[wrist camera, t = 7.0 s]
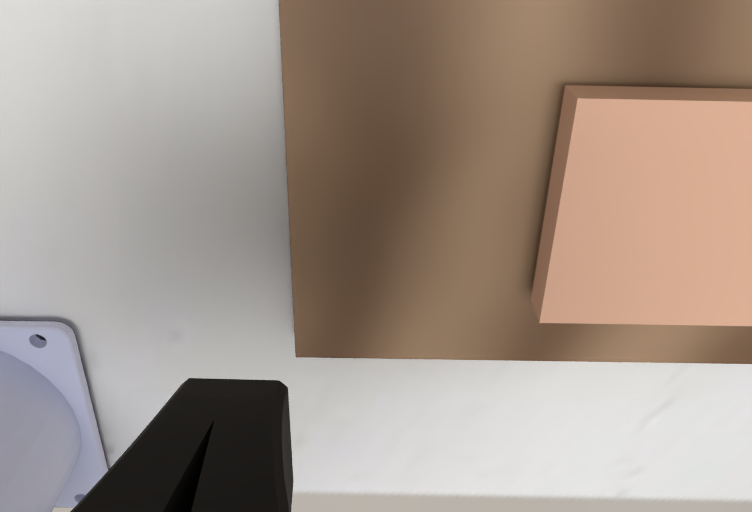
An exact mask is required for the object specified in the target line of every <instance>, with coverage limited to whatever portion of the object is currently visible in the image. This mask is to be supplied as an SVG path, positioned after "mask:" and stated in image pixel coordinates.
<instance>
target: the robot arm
mask: <svg viewBox="0 0 752 512" xmlns="http://www.w3.org/2000/svg"><path fill="white" fill-rule="evenodd" d="M35 334H38V335H41V336H43V337H44V338H45V339H46V341H45V340H41V339H39V338H38V337H37V336H36V335H35ZM292 491H293V468H292V451H291V434H290V418H289V401H288V388H287V387H286V386H285V385H284V384H283V383H282V382H280V381H276V380H238V379H199V378H189V379H188V380H187V381H185V382H184V383H183V384H182V385H181V386H180V387H179V389H178V390H177V391H176V392H175V393H174V395H173V396H172V397H171V398H170V399H169V401H168V402H167V403H166V404H165V405H164V407H163V408H162V409H161V410H160V411H159V413H158V414H157V415H156V416H155V417H154V419H153V420H152V421H151V422H150V423H149V425H148V426H147V427H146V428H145V429H144V430H143V432H142V433H141V434H140V435H139V436H138V437H137V439H136V440H135V441H134V442H133V443H132V444H131V445H130V447H129V448H128V449H127V450H126V451H125V452H124V454H123V455H122V456H121V457H120V458H119V459H118V460H117V461H116V463H115V464H114V465H113V466H112V467H111V468H110V469H109V470H108V468H107V464H106V460H105V456H104V452H103V448H102V444H101V439H100V435H99V431H98V427H97V423H96V419H95V415H94V411H93V407H92V403H91V399H90V395H89V390H88V386H87V382H86V378H85V374H84V370H83V366H82V362H81V358H80V354H79V350H78V346H77V341H76V337H75V334H74V332H73V330H72V329H71V328H70V327H69V326H68V325H66V324H64V323H61V322H49V321H0V512H52V510H53V508H54V507H74V509H73V510H72V511H71V512H291V503H292ZM84 494H85V495H84Z"/></svg>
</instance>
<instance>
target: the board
mask: <svg viewBox="0 0 752 512" xmlns="http://www.w3.org/2000/svg"><path fill="white" fill-rule="evenodd" d="M279 16H280V37H281V58H282V79H283V100H284V121H285V142H286V164H287V185H288V206H289V227H290V248H291V269H292V290H293V311H294V332H295V353H296V357H318V358H386V359H453V360H520V361H588V362H655V363H723V364H752V326H706V325H642V324H577V323H539V321H538V318H537V315H536V313H535V310H534V307H533V305H532V302H531V296H532V290H533V283H534V277H535V271H536V265H537V258H538V252H539V246H540V240H541V233H542V227H543V221H544V214H545V208H546V202H547V196H548V189H549V183H550V177H551V171H552V164H553V158H554V152H555V146H556V139H557V133H558V127H559V121H560V114H561V108H562V102H563V96H564V89H565V85H580V86H630V87H680V88H729V89H752V0H279Z"/></svg>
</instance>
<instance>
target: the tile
mask: <svg viewBox="0 0 752 512" xmlns="http://www.w3.org/2000/svg"><path fill="white" fill-rule="evenodd" d="M531 302H532V305H533V307H534V310H535V313H536V315H537V318H538V321H539V323H577V324H642V325H706V326H752V89H729V88H680V87H630V86H580V85H565V89H564V96H563V102H562V108H561V114H560V121H559V127H558V133H557V139H556V146H555V152H554V158H553V164H552V171H551V177H550V183H549V189H548V196H547V202H546V208H545V214H544V221H543V227H542V233H541V240H540V246H539V252H538V258H537V265H536V271H535V277H534V283H533V290H532V296H531Z"/></svg>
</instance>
